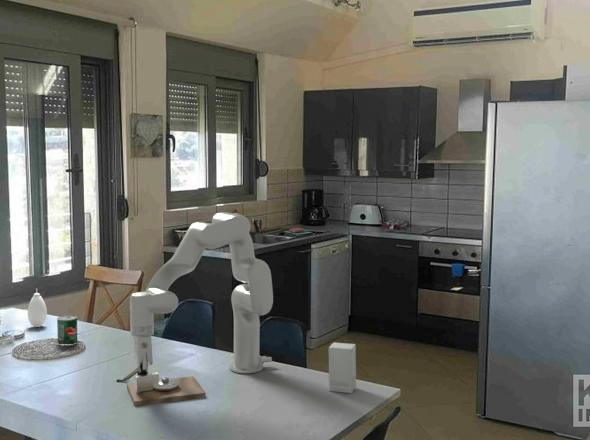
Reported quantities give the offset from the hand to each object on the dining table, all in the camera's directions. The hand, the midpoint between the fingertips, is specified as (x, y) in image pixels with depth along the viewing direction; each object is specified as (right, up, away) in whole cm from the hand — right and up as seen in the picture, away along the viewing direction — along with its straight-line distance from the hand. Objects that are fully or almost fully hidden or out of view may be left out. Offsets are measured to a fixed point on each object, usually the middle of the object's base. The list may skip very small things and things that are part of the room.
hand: (142, 383), depth 228 cm
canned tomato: (-43, +3, +55) cm, 70 cm away
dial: (+5, -1, -1) cm, 5 cm away
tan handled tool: (-6, -2, +20) cm, 21 cm away
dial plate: (+7, -3, +1) cm, 8 cm away
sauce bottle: (-65, +6, +79) cm, 103 cm away
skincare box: (+67, -4, +5) cm, 67 cm away
